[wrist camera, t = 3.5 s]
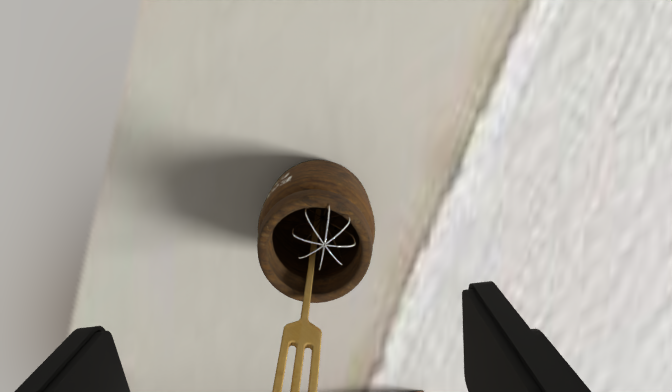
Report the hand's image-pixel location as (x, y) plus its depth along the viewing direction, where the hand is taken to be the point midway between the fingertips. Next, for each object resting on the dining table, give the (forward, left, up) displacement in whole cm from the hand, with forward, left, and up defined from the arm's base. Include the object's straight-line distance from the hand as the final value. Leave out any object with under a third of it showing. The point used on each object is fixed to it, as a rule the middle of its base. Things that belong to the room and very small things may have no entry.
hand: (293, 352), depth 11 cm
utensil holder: (0, +1, -15) cm, 14 cm away
